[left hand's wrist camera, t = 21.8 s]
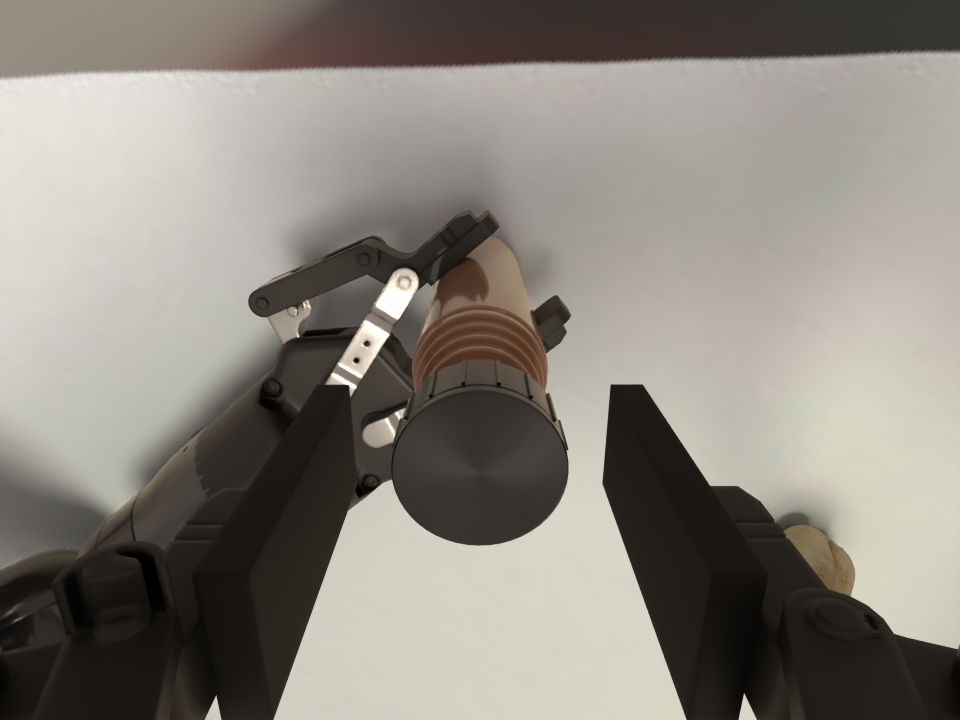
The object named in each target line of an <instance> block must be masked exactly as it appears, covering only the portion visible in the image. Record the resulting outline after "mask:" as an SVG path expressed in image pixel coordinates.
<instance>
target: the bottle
mask: <svg viewBox="0 0 960 720" xmlns="http://www.w3.org/2000/svg"><path fill="white" fill-rule="evenodd" d="M463 360H466V361H476V360H484V361H494V362H495V361H496V360H499V363H503V364H506V365H509V366H512V367H514V368H516V369H518V370H521V371H522V372H524V373H526V372H528V373H529V376H530V377H531V378H532V379H534V380H535V381H536V382H537V383H538V384H539V385H540V386H541V387H542V388H543V389H544V391H545V390H546V384H547V374H548V363H547V356H546V352H545V349H544V345H543V342H542V339H541V336H540V333H539V329H538V326H537V323H536V320H535V316H534V313H533V310H532V307H531V304H530V300H529V297H528V294H527V291H526V287H525V284H524V281H523V278H522V275H521V271H520V268H519V265H518V262H517V259H516V257H515V255H514V253H513V251H512V250H511V249H510V247H509V246H507V245H506V244H505V243H504V242H503V241H501V240H500V239H498V238H496V237H493V236H490V237H489V238H487V239H486V240H485V241H484V242H483V243H481V244H480V245H479V246H478V247H477V248H476V249H474V250H473V251H472V252H471V253H470V254H469V255H467V256H466V257H465V258H464V259H463V260H461V261H460V262H459V263H458V264H457V265H456V266H454V267H453V268H452V269H451V270H449V271H448V272H447V273H446V274H445V275H444V276H443V277H441V278H440V279H439V280H438V281H437V282H436V283H435V286H434V289H433V293H432V296H431V299H430V302H429V306H428V309H427V312H426V315H425V319H424V322H423V325H422V328H421V331H420V335H419V338H418V341H417V344H416V348H415V351H414V355H413V360H412V376H413V386H414V391H415V390H416V389H417V388H418V387H419V386H420V385H421V384H422V383H423V382H424V381H425V380H426V379H427V378H429V377H430V376H431V375H432V372H434V371H436V372H438V371H439V370H441V369H443V368H445V367H448V366H450V365H454V364H457V363H460V362H463Z"/></svg>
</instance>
